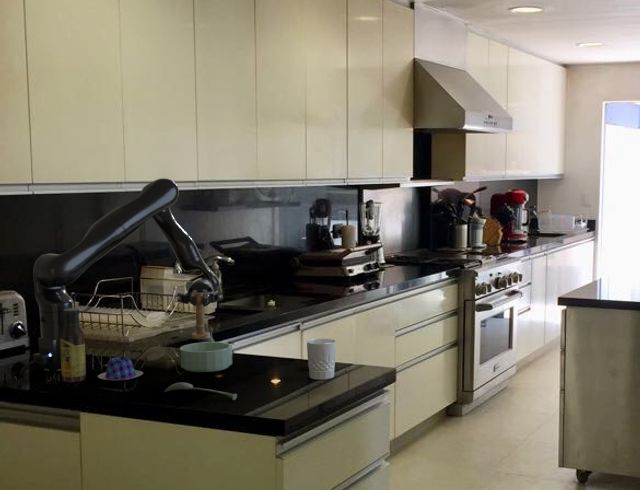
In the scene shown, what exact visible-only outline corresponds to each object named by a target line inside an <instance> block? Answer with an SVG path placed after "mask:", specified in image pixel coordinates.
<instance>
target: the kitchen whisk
mask: <svg viewBox="0 0 640 490" xmlns="http://www.w3.org/2000/svg"><path fill="white" fill-rule="evenodd" d="M194 327H195V328H194ZM204 327H206V328H204V331H206V330H207V332H209V333H210V338H206V339H201V340H202V341H201V340H200V339H197V340H198V341H199V343H202V342H216V341H215V339H214V338H213V331H211V332H210V331H209V328H208V327H210V328H211V329H213V328H212V326H211V325H210V324H208V323H207V322H205V324H204ZM191 328H192V329H193V331H192V333H195V332H197V328H196V325H192V326H191Z"/></svg>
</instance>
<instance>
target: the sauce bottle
mask: <svg viewBox="0 0 640 490" xmlns="http://www.w3.org/2000/svg"><path fill="white" fill-rule="evenodd" d="M63 315H64V327H63V330H62V334H61V337H60V352H61V372H60V373H61V376H62V377H61V378H62V379H61V380H62V382H64V383H71V384H72V383H79V382H84V381H86V374H87V370H86V344H85V333H84V331H83V329H82V328H81V326H80V308H77V307H74V308H67V309H64V310H63Z"/></svg>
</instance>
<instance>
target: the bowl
mask: <svg viewBox="0 0 640 490" xmlns="http://www.w3.org/2000/svg"><path fill="white" fill-rule="evenodd" d="M233 360H234V359H233V345H232V344H230V343H228V342H222V341H221V342H220V341H215V342H204V341H202V342H194V343H189V344H188V343H187V344H184V345H181V346H180V347H179V366H180V368H182V369H183V370H185V371H186V372H192V373H210V372H211V373H212V372H219V371H223V370H226V369H228V368H229V367H231V365H233V363H234V362H233Z"/></svg>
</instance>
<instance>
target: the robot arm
mask: <svg viewBox="0 0 640 490" xmlns="http://www.w3.org/2000/svg"><path fill="white" fill-rule="evenodd" d="M179 195H180V191H179V186H178V185H177V183H176V181H174V180H172V179H169V178H165V177H163V178H157V179H155V180H153V181H151V182H149V183H147V184H145V185H144V186H143V187H142V189H141V191H140V194H139V195H138V196H137V197H135V198H134V199H132V200H131V201H129V202H127V203H124V204H123V205H121V206H119V207H116V208H115V209H113V210H111V211H110V212H108V213H107V214H105V215H104V216H102V217H101V218H99V219H98V220H97V221H95V222H94V223H93V224H92V225H91V226H90V227H89V229H88V230H87V232H86V233H85V235H84V237H83V238H82V240H81V241H80V242H79V243H77V244H76V245H75V246H73V247H71V248H70V249H68V250H67V251H65V252H62V253H61V254H58V253H45V254H41V255H40V256H39V257H37V259H36V260H35V262H34V264H33V270H32V276H33V287H34V295H35V296H34V297H35V300H36V302H37V304H38V307H39V321H40V322H39V325H40V337H38V339H37V340H38V341H37V342H38V353H33V354H32V360H30V361H29V362H27V363H26V364H25V365H24V366H22V367H21V369H20V371H19V372H18V374H19V375H20V376H22V374H23V373H24V372H25V370H26V369H27V368H29V367H30V366H31V365H33V364H39V369H40V370H39V371H41V372H42V371H43V372H47V373H48V372H49V373H57V372H58V373H61V352H60V337H61V334H62V330H63V327H64V315H63V310H64V309H67V308H75V304H74V300H73V298H72V297H71V296H70V295H69V294H68V292H67V290H66V287H68V286H69V285H71V284H73V283H74V282H75V281H76V280H77V279H78V278H79V277H80V276H81V275H82V274H83V273H85V272H86V270H87V269H89V268H90V267H91V266H92V265H93V264H94V263H96V262H97V261H99V260H100V259H101V258H102V257H104V256H105V255H107V254H108V253H109V252H110V251H112V250H113V249H115V248H117V247H118V246H120V245H121V244H122V243H123V242H125V241H127V240H128V238H129V237H131V236H132V235H133V234H134V233H136V232H137V231H138V230H139V229H140V228H141V227H142V226H143V225H144V224H146V223H147V222H148V221H149V220H150V219H153V221H154V222H155V223H156V225H157V227H159V229H160V231H161V232H162V234H163V235H164V237H165V239H166V240H167V241H168V244H169V245H170V248H171V249H172V251H173V253H174V255H175V257H176V260H177V261H178V263H179V266H180V267H181V269H182V270H183V272H191V271H200V272H201V274H199V275H196V276H194V277H192V278H189V279H188V280H187V281H186V282H185V291H186V292H185V293H183V292H178V293H176V295H177V297H176V298H177V303H181V304H185V305H188V304H189V305H192V306H194V307H196V305H195V304H196V303H195V293H198V292H201V293H203V308H205V307H207V306H209V305H210V304H215V303H217V302H220V301H223V300H224V296H223V295H224V294H223V291H221V290H220V288H221V281H220V279H219V278H218V276H217V275H216V273H214V272H213V271H212V269H211V268H210V266H208V264H207V263H206V262H205V260H204V259H203V257H202V255H201V253H200V250H199V249H198V247H197V244H196V243H195V241H194V239H192V237H191V236H190V234H189V233H188V232H187V231H186V230H185V229H184V228H183V227H182V226H181V225H180V224H179V223H178V221H177V219H176V218H175V216H174V215H173V212H172V210H171V207H172V206H173V205H175V203H177V201H178V198H179ZM219 290H220V291H219Z"/></svg>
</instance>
